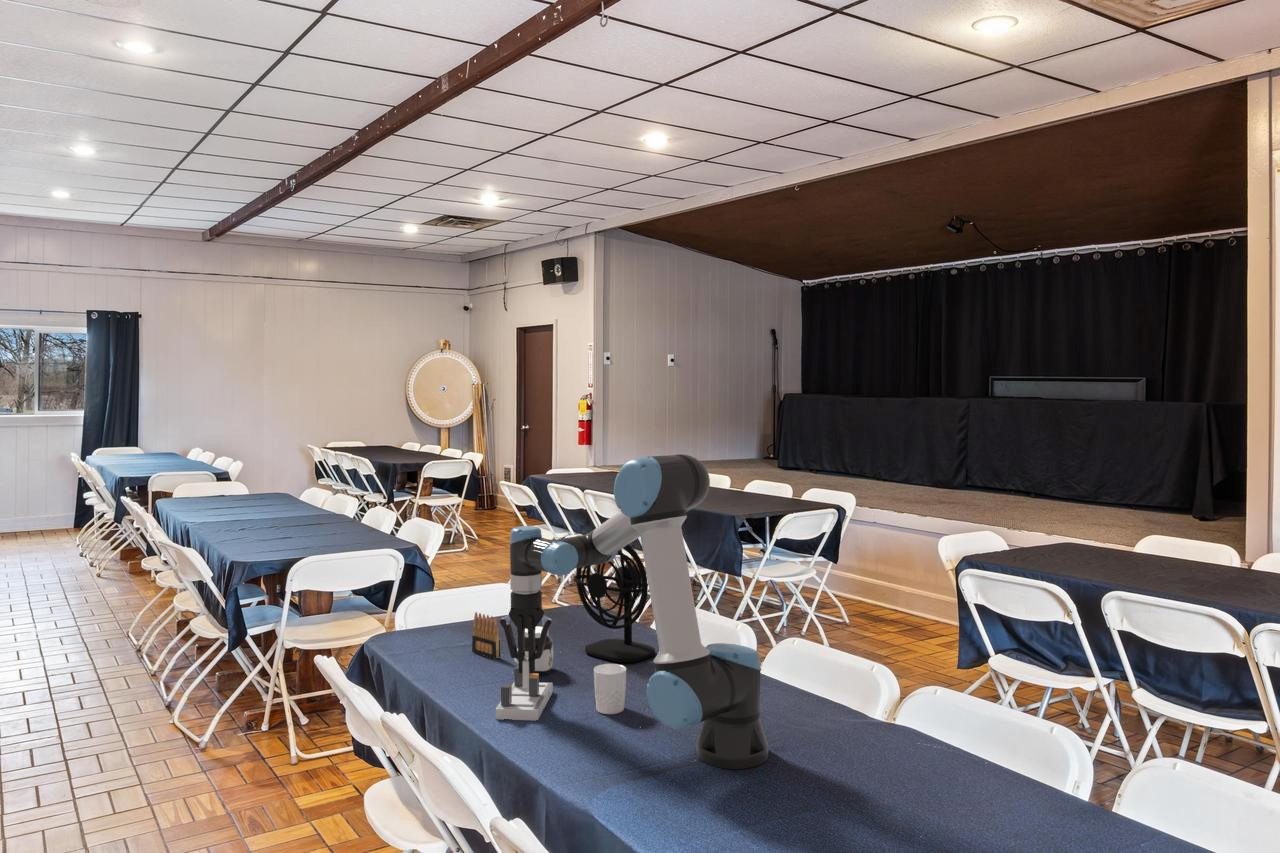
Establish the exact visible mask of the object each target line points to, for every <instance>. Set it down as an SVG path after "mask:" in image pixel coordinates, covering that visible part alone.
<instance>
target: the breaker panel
mask: <svg viewBox="0 0 1280 853" xmlns="http://www.w3.org/2000/svg"><path fill="white" fill-rule="evenodd" d="M511 684H512V703H511V704H510V706H501V701H500V702H499V703H498V705H497V706H496V708H495V720H504V719H510V720H511V719H512V720H514V721H536V720H538V721H539V719H540V717H541V715H542V714H541V713H543V712H544V710H543V709H545V708H546V706H547V704H548V702H549V701H550V698H551V696H552V695H553V687H554V683H553V682H539V694H538V696H529V688H523V686H515V683H514V682H513V683H511ZM542 711H543V712H542ZM512 720H511V721H512Z"/></svg>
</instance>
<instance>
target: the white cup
mask: <svg viewBox="0 0 1280 853" xmlns="http://www.w3.org/2000/svg"><path fill="white" fill-rule="evenodd" d="M593 682H594V685H593V686H594V698H595V709H596V712H598V713H600V714H604V715H616V714H620V713H622V712H624V710H625V702H626V701H625V700H626V699H625V698H626V689H627V688H626V687H627V667H626V666H624V665H623V664H618V663H603V664H598V665H596V666H594V668H593Z"/></svg>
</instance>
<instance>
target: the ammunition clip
mask: <svg viewBox="0 0 1280 853" xmlns="http://www.w3.org/2000/svg"><path fill="white" fill-rule="evenodd" d="M498 625H499V624H498V619H497V616H495V617H494V618H493V615H491V616H490V615H489V614H487V615H485V614H484V613H483V615H482V613H481V612H479V613H478V612H477V611H475V613H474V618H473V635H472V638H471V639H472V641H471V652H474V653H473V654H475V653H476V655H479V654H481V655H480V656H482V655H485V656H488V657H491V658H495V659H496V658H499V657H500V658H501V640H499V639H500V638H499V637H500V636H499V632H500V631H499V626H498ZM485 656H484V657H485ZM488 657H487V658H488ZM491 658H490V659H491ZM500 658H499V659H500ZM495 659H494V660H495ZM496 660H497V659H496Z"/></svg>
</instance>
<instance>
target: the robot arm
mask: <svg viewBox="0 0 1280 853" xmlns="http://www.w3.org/2000/svg"><path fill="white" fill-rule="evenodd" d="M613 484H614V485H613V497H614V502H615V504H616V506H617V508H618V509H619V511H618V512H617V513H615V514H614V515H613V516H611V517H609V518H608V519H607V520H606V521H604V522H602V523H601V524H600V525H598V526H597V527H596V528H595V529H592V530H591V531H590V532H588V533H585V534H582V535H577V536H571V537H570V536H569V537H564V538H563V537H562V538H557V539H549V538H543V535H542V530H541V528H540V527H539V526H533V525H523V526H515V527H514V528H512V529H511V530H510V538H509V539H510V540H509V541H510V542H509V543H508V544H509V561H510V562H509V564H510V576H509V577H510V580H509V581H510V584H509V585H510V587H509V588H510V590H511V592H510V610H509V612H508V614H507V615H506V616H503V617H502V618H501V619H500V620H499V624H500V625H501V627H502V628H503V629H504V633H505V638H506V642H507V647H508V650H509V654H510V658H512V659H514V658H516V659H518V664H517V665H519V673H523V688H529V676H530V674H533V673H534V671H535V659H539V658H540V657H541V656H542V654H543V650H544V646H545V641H546V637H547V633H548V629H549V628H550V626H551V624H553V622H554V620H553V618H552V617H548V616H546V615H545V612H544V610H543V601H542V599H543V595H542V593H543V592H542V590H541V589H542V584H543V583H542V579H543V578H542V573H543V572H545V573H549V574H552V575H556V576H558V575H559V576H567V575H569V574H570V573H572V572H573V571H574V570H576V569H577V568H580V567H582V568H583V567H585V566H591V567H592V566H596V565H597V564H601V565H603V564H604V563H606V564H607V563H608V562H609V561H611V562H612V561H613V560H614V559H616V556H617V555H616V554H617V553H618V551H619V550H620V549H622V550H623V547H625V546H626V545H628V544H629V545H631V543H632V542H634V541H635V540H637V539H639V538H640V542H641V548H642V553H643V559H644V564H645V566H644V568H645V572H646V576H647V584H648V590H649V595H650V603H651V607H652V608H651V610H652V614H653V619H654V625H655V632H656V637H657V643H658V652H657V654H656V656H655V657H654V658H653V664H654V673H653V674H652V675H651V676H650V677H649V679H648V682H647V684H646V698H647V701H648V705H649V707H650V709H651V710H652V713H653V714H654V715H655V717H656V718H658V719H659V721H660V722H661V723H662V724H664V725H666V727H669V728H671V729H676V730H680V729H685V728H688V727H695V726H696V725H699V724H700V723H702V722H703V723H702V725H701V728H700V732H699V734H698V737H697V740H696V756H697V757H698V759H699V760H700V761H702V762H703V763H705V764H708V765H710V766H714V767H717V768H721V769H729V770H730V769H731V770H732V769H734V770H737V769H738V770H739V769H742V770H743V769H750V768H753V767H758V766H760V765H762V764H764V763H765V762H766V761H767V760H768V758H769V742H768V741H767V737H766V734H765V730H764V728H763V724H762V722H761V671H762V668H761V656H760V654H759V653H758V651H757V650H756V649H753V648H751V647H748V646H744V645H740V644H735V643H724V642H723V643H717V642H716V643H710V644H707V645H706V646H704V644H702V641H701V640H702V639H701V634H700V629H699V623H698V622H699V621H698V617H697V612H696V606H695V599H694V592H693V588H692V582H691V575H690V571H689V570H690V569H689V563H688V559H687V558H688V557H687V553H686V548H685V540H684V536H683V535H684V534H683V530H682V525H683V524H684V522H685V520H686V519H687V518H688V515H687V513H688V512H689V511H691V510H693V509H694V508H696V507H698V505H701V503H702V502H704V500H705V499H706V498H707V496H708V493H709V491H710V487H711V479H710V474H709V472H708V469H707V468H706V466H705V464H703V462H702V461H700V459H697V458H696V457H695V456H692V455H689V454H681V453H680V454H671V455H655V456H654V455H653V456H643V457H639V458H633V459H631V460H628V461H626V462H625V463H624V464H623V465H622V466H621V468H620V469H619V473H617V474H616V477H615V480H614V483H613ZM541 620H542V621H541ZM512 622H513V624H514V625H515V626H516V627H517V628H516V630H517V631H516V633H517V644H516V639H515V636H514V633H513V628H512V625H511V623H512ZM540 622H541V625H542V627H543V628H542V632H541V636H540V640H539V644H538V649H537V652H536V653H535V629H536V626H538V625H539V623H540ZM525 628H526V629H528V658H525ZM517 649H518V651H517Z"/></svg>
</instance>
